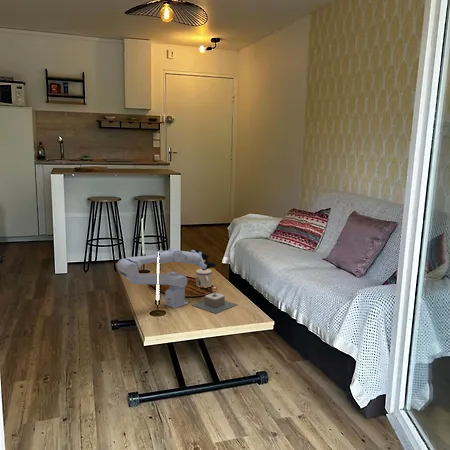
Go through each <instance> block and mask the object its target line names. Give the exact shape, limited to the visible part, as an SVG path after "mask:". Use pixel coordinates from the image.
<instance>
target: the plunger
mask: <svg viewBox="0 0 450 450" xmlns="http://www.w3.org/2000/svg"><path fill="white" fill-rule="evenodd" d="M218 289H219V287H218V286H217V285H212V287H211V291H212V293H214V294H213V296H214V297H215V296H216V293H217V292H218Z"/></svg>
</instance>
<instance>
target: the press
mask: <svg viewBox="0 0 450 450" xmlns="http://www.w3.org/2000/svg"><path fill="white" fill-rule="evenodd" d="M213 294H214V292H212V293H209V294H206V295H204V300H202V301H198V302H197V303H194V304H191V306H192V307H195V308H197V309H200V310H203V311H206V312H209V313H212V314H215V315H216V314H219V313H222V312H223V311H226V310H229V309H232V308H233V307H236V306H238V304H237V303H234V302H231V301H228V300H225V299H226V297H225V296H226V295H224V294H220V293H219V292H218V293H217V292H216V296H215V297H214V296H213Z"/></svg>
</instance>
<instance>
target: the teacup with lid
mask: <svg viewBox="0 0 450 450" xmlns="http://www.w3.org/2000/svg"><path fill="white" fill-rule="evenodd" d="M212 273H213V270H212V269H211V268H209V269H206V270H202V269H201V268H198V269H197V270H195V275H196V276H195V279H196V280H195V285H196V286H198V287H204V288H207V287H211V286H213V285H212V283H213V281H212V279H213V278H212V277H213V275H212ZM196 286H195V287H196ZM211 288H212V287H211Z"/></svg>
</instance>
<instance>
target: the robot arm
mask: <svg viewBox="0 0 450 450" xmlns="http://www.w3.org/2000/svg"><path fill="white" fill-rule="evenodd" d="M158 252H159V253H160V260H159V263H160V264H161V265H162V264H166V263H167V264H168V263H170V262H171V263H172V262H174V263H176V264H177V263H182V264H183V263H184V264H189V265H195V266H197V267H200V269H202V270H206V269H214V268H215V267H216V263H215V262H212V261H209V258H210V256H209V255H208V254H206V253H204V252H202V251H201V250H200V249H196V250H195V249H191V251H186V250H185V251H184V250H178V249H176V248H171V247H170V248H168V250H163V249H160V250H158V251H156V252H155V253H154V254H151V255H150V254H149V255H138V256H128V257H126V258H124V257H123V258H121V259H119V260H118V261H117V263H116V269H117V271H118V273H119V274H120V275H121V276H123V277H124V278H125V279H126V280H128V281H129V282H130V283H132V284H134V285H161V286H162V285H164V286H165V285H166V286H167V285H168V286H169V288H168V289H166V290H165V292H164V299H165V300H164V303H163V305H165V306H168V307H170V308H173V309H177V308H179V307H182V306H185V305H188V304H189V302H188V301H186V299H185V298H186V297H185V295H186V293H185V292H186V291H185V289H186V286H187V284H188V278H187V276H185V275H183V274H181V273H178V272H177V271H174V270H173V271H171V272H168V273H140V272H139V270H140V269H141V267H142V265H147V264H151V263H156V264H158V263H157V257H158ZM204 260H205V261H204ZM157 274H159V284H157Z"/></svg>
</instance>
